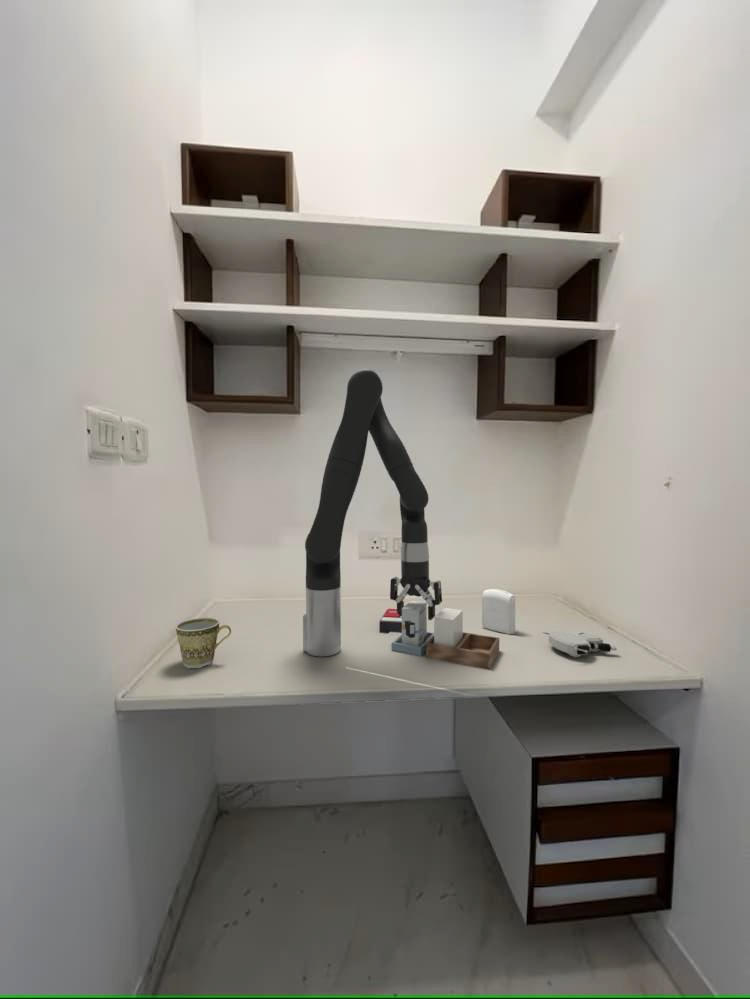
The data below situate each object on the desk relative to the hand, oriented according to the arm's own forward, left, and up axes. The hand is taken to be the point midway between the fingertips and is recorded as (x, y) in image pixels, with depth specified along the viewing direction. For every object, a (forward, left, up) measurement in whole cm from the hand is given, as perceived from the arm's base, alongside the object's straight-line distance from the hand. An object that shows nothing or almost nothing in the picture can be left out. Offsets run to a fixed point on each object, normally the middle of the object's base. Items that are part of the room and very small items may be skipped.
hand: (415, 617), depth 116 cm
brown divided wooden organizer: (+13, 0, -8) cm, 16 cm away
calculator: (-11, +14, -9) cm, 20 cm away
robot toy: (+40, +16, -9) cm, 44 cm away
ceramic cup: (-43, -33, -8) cm, 55 cm away
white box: (+9, 0, -8) cm, 12 cm away
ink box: (0, 0, -8) cm, 8 cm away
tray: (0, 0, -8) cm, 8 cm away
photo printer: (+18, +24, -8) cm, 31 cm away
